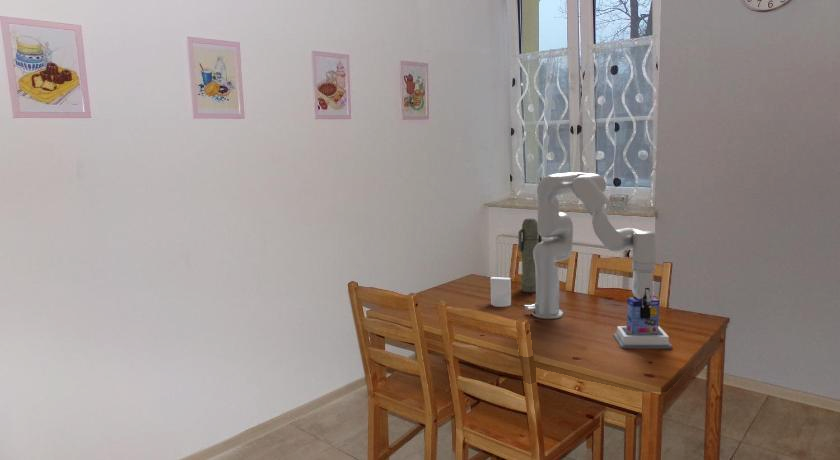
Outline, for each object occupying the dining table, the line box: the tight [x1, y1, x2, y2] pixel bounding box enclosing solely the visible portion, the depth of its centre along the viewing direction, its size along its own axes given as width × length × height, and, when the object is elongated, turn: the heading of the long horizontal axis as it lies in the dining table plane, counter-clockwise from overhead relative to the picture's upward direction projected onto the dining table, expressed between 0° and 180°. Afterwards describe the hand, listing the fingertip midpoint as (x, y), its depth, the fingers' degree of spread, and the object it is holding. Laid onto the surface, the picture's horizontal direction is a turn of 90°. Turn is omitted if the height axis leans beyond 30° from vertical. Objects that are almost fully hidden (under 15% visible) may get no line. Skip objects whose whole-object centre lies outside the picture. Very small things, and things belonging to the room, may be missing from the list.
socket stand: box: [613, 325, 673, 350], centre depth 204 cm, size 17×13×4 cm
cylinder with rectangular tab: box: [489, 276, 512, 308], centre depth 256 cm, size 9×9×12 cm
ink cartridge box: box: [626, 296, 660, 334], centre depth 203 cm, size 10×6×14 cm, turn 95°
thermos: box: [517, 218, 543, 293], centre depth 275 cm, size 9×12×35 cm
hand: (642, 314), depth 203 cm, fingers closed on ink cartridge box, 5 cm apart
